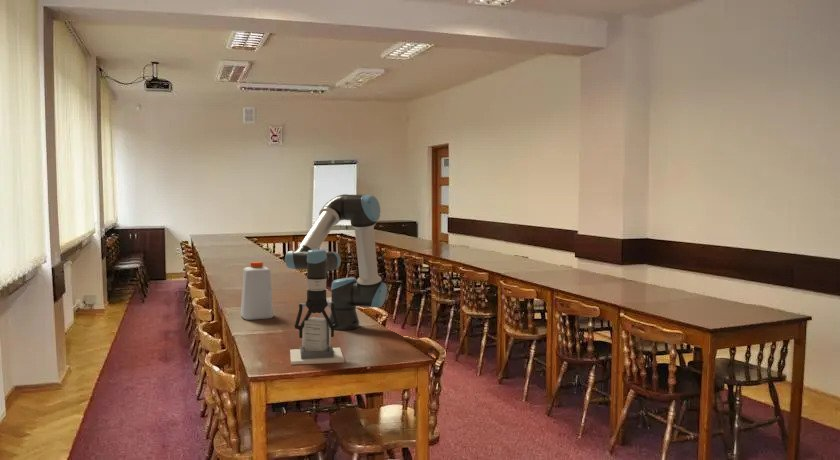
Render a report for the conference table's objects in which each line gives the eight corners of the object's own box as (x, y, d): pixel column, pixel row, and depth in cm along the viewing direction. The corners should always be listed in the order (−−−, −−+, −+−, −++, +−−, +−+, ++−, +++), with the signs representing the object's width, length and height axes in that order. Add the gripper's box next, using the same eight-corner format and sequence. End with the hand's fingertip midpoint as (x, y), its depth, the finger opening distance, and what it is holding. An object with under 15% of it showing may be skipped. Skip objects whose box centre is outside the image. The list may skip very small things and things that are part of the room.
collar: (299, 350, 260) (299, 344, 260) (331, 349, 263) (331, 343, 263) (301, 359, 248) (301, 352, 248) (333, 357, 251) (333, 351, 251)
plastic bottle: (244, 321, 320) (243, 264, 318) (239, 315, 334) (239, 261, 332) (274, 318, 326) (274, 263, 324) (269, 313, 340) (268, 260, 338)
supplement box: (312, 347, 260) (312, 316, 259) (329, 349, 258) (329, 318, 257) (303, 352, 253) (303, 320, 252) (321, 354, 251) (321, 321, 250)
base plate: (290, 352, 262) (290, 349, 262) (339, 350, 266) (339, 347, 266) (291, 364, 245) (291, 361, 244) (344, 362, 249) (344, 359, 249)
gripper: (287, 291, 248) (287, 349, 249) (346, 290, 252) (345, 346, 254) (287, 288, 255) (287, 344, 256) (344, 287, 260) (343, 342, 261)
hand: (316, 345), depth 255 cm, fingers closed on supplement box, 10 cm apart
